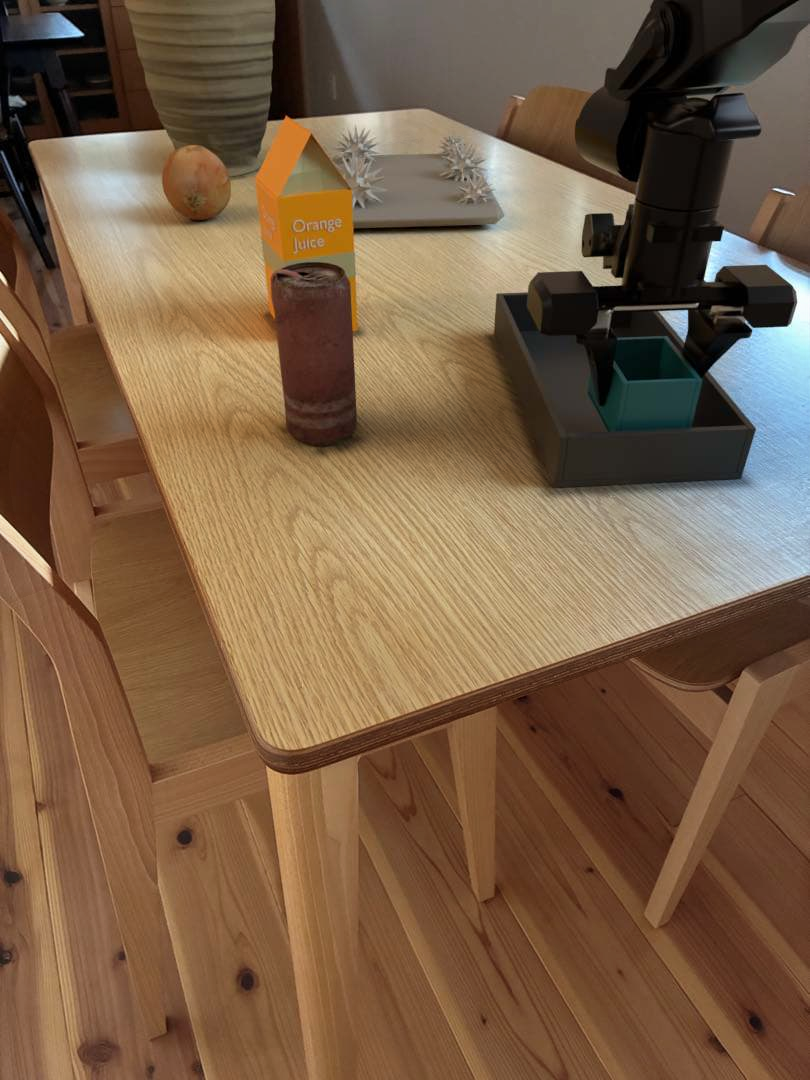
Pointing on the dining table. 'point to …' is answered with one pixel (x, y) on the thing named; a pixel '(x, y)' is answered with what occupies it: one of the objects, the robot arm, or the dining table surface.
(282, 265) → the orange juice
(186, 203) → the onion
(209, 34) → the vase
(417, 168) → the decorative tray
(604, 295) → the robot arm
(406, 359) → the dining table surface
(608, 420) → the teal bin
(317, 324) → the soda can
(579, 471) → the tray
